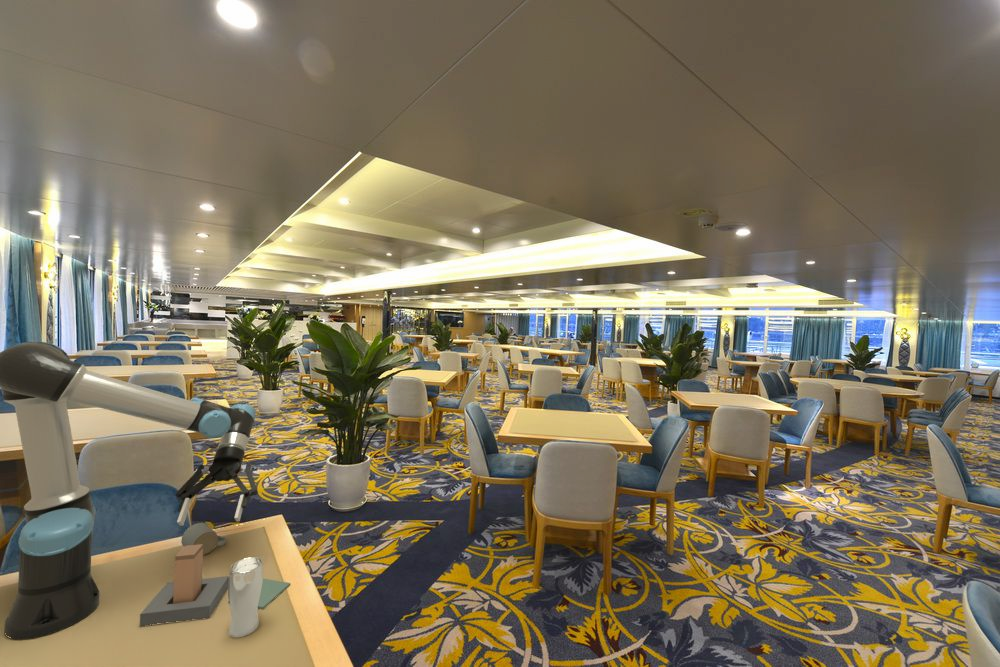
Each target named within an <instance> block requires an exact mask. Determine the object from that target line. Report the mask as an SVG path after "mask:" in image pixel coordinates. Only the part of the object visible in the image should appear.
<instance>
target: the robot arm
mask: <svg viewBox="0 0 1000 667" xmlns="http://www.w3.org/2000/svg"><path fill="white" fill-rule="evenodd" d="M0 388H1V393H2V398H3V402H5V403H8V404H10V405H12V406H13V407H14V409H15V414H16V420H17V426H18V429H19V430H18V432H19V436H20V442H21V447H22V453H23V459H24V464H25V469H26V474H27V480H28V485H29V490H30V496H31V498H30V499H29V501H27V503H25V505H24V506H23V509H24V510H23V511H24V515H25V522H26V524H25V525H24V526H23V527H22V529H21V531H20V536H19V537H18V547H19V558H18V559H19V560H18V562H19V563H18V564H19V565H18V586H17V588H18V590H17V595H16V598H15V600H14V602H13V604H12V607H11V609H10V611H9V614H8V615H7V617H6V620H5V623H4V634H5V633H6V635H7V636H9V637H11V638H13V639H12V640H29V639H34V638H40V637H43V636H47V635H50V634H54V633H55V632H59V631H62V630H64V629H66V628H68V627H70V626H73V625H75V624H77V623H78V622H80V621H82V620H83V619H86V617H88V616H89V615H91V614H92V613H93V612H94V611H96V609H97V607H98V606H99V604H100V596H101V595H100V589H99V588H98V586H97V584H96V582H95V580H94V578H93V575H92V574H91V573H92V572H91V570H92V569H91V568H92V567H91V566H92V551H93V550H92V544H93V534H94V525H95V520H96V519H95V518H96V517H97V516H96V513H97V511H96V507H95V505H94V503H93V502H92V497H91V492H90V488H89V487H88V486H85V485H82V484H81V482H80V476H79V470H78V469H79V468H78V464H77V458H76V452H75V446H74V440H73V434H72V429H71V424H70V417H69V411H68V405H67V401H72V402H74V403H79V404H83V405H87V406H92V407H95V408H98V409H99V408H100V409H102V410H103V409H104V410H108V411H112V412H116V413H119V414H124V415H127V416H131V417H136V418H138V419H139V418H140V419H144V420H148V421H152V422H156V423H159V424H164V425H168V426H172V427H176V428H179V429H184V430H187V431H190V432H194V433H199V434H200V435H202V436H203V437H206V438H209V439H217V438H220V439H219V440H220V441H219V442H218V444H217V445H218V446H217V449H216V452H215V455H214V457H213V460H212V462H211V463H212V464H210V466H204V464H200V465H199V466H198V467H197V470H196V471H195V472H194V473H193V474H192V476H190V478H188V480H186V482H185V483H184V484H183V485H182V486H181V487H180V488H179V490H177V491H176V493H175V494H174V496H175V498H176V499H177V500H179V501H180V502H179V506H178V508H177V511H178V512H179V515H178V517H177V520H176V523H177V525H179V526H180V527H182V526H183V527H184V524H185V521H186V519H187V516H188V514H189V510H190V507H191V504H192V500H191V499H193V498H194V497H195V496H196V495H198V494H199V493H200V492H202V491H203V490H204V489H206V487H208V486H209V485H211V484H213V483H214V482H229V481H230V480H233V481H234V483H235V484H236V486H238V488H239V489H240V491H241V492H242V494H240V496H239V499H238V503H237V506H236V511H235V514H234V520H235V521H236V522H240V521H241V517H242V514H243V509H246V508H247V507H248V505H249V502H250V498H251V497H252V496H257V495H258V494H259V491H258V489H257V485H256V481H255V480H254V476H253V474H252V472H253V466H252V463H251V462H246V464H243V460H244V458H245V454H246V450H247V447H248V443H249V438H250V435H251V432H252V429H253V425H254V424H255V419H256V414H257V413H256V409H255V407H253V406H252V405H249V404H247V403H245V404H243V403H237V404H236V403H235V404H234V405H233V406H232V407H227V406H225V405H222V404H218V403H215V402H211V401H209V400H206V399H202V398H199V397H192V398H191V399H189V400H188V399H185V398H182V397H179V396H175V395H172V394H168V393H165V392H162V391H158V390H154V389H151V388H148V387H144V386H142V385H138V384H135V383H131V382H128V381H124V380H121V379H117V378H115V377H111V376H108V375H104V374H102V373H101V374H100V373H98V372H93V371H91V370H88V369H87V368H86V366H85V365H84V364H83V363H79V362H76V361H74V360H71V358H70V356H69V354H68V353H67V352H66V351H65V350H64V349H62V348H61V347H59V346H58V345H56V344H53V343H50V342H45V341H29V342H21V343H17V344H16V345H15V344H14V345H13V346H10V347H8V348H5V349H3V350H2V351H1V352H0ZM241 471H243V472H244V473H245V474H246V477H247V480H248V484H249V486H250V490H249V489H248V488H247V486H246V485H245V484H244V483H243V481H242V479H241V478H240V477H239V476H238V474H239V473H241ZM207 472H208V473H207ZM204 475H205V476H204ZM203 476H204V478H202V477H203ZM6 635H5V636H6ZM11 638H10V639H11Z"/></svg>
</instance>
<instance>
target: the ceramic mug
mask: <svg viewBox="0 0 1000 667" xmlns="http://www.w3.org/2000/svg"><path fill="white" fill-rule="evenodd" d="M180 542H181V545H182V547H184V546H187V545H199V544H203V556H206V555H208V554H210V553H211V552H213V550H214V549H215V548H216V547H223V546H224V545H225V544H226V542H227V539H226V538H225V537H224V536H222V535H218V533H217V532H216V531H215V530H214V529H212V528H211V526H210V525H209V524H208V523H205V522H198V523H197V522H196V523H194V524H192V525H191V526H189V527H188V528H187V529H186V530H185V531H184V532H183V534H182V536H181V540H180ZM205 554H206V555H205Z"/></svg>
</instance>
